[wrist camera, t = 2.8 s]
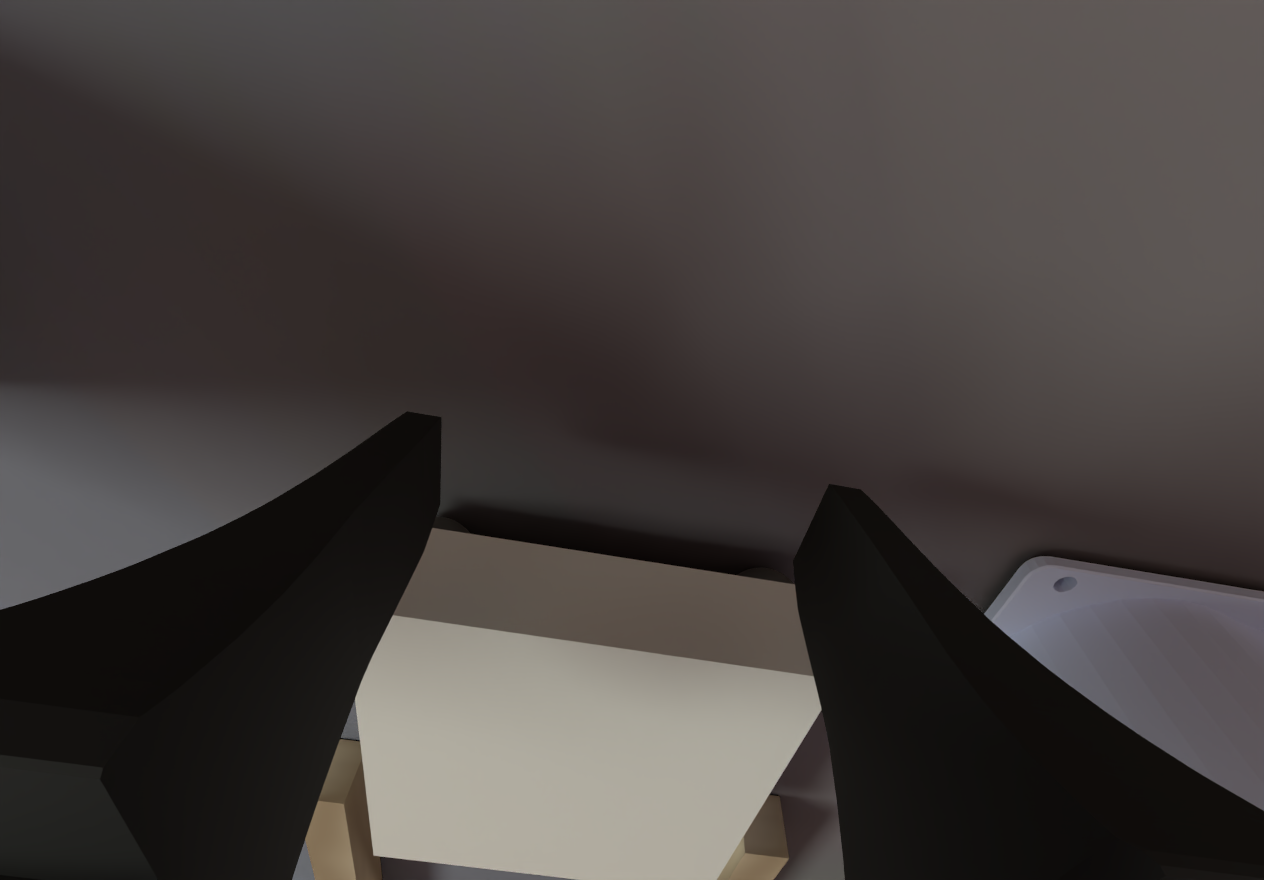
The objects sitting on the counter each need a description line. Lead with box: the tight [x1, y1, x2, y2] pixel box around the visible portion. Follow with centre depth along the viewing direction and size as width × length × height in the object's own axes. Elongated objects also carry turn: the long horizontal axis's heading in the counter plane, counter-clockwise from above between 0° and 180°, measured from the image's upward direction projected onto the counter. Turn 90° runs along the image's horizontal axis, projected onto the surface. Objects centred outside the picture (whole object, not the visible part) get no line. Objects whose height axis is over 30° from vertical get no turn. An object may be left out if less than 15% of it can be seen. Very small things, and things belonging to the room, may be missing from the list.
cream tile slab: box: [355, 516, 822, 880], centre depth 17 cm, size 10×11×4 cm
